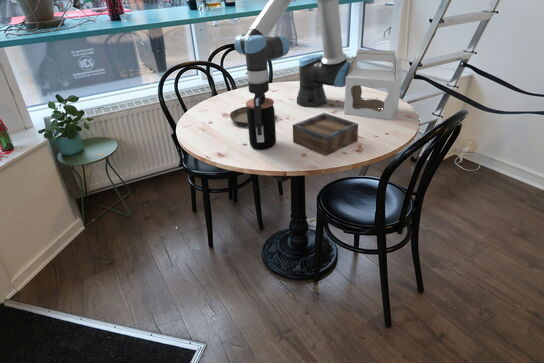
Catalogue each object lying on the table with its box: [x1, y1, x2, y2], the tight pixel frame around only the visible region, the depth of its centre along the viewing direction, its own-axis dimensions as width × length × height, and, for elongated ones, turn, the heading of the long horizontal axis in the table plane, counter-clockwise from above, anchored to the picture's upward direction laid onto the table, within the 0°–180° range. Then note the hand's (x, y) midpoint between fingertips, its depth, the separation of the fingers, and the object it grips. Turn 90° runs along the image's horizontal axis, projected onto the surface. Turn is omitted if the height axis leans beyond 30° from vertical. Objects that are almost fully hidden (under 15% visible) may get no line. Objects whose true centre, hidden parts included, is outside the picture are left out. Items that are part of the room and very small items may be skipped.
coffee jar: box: [245, 97, 277, 151], centre depth 147 cm, size 11×11×18 cm
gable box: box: [343, 49, 403, 121], centre depth 168 cm, size 22×13×28 cm, turn 62°
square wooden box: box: [292, 112, 359, 157], centre depth 148 cm, size 18×18×8 cm
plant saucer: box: [229, 106, 248, 127], centre depth 176 cm, size 21×21×3 cm
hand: (262, 135), depth 149 cm, fingers closed on coffee jar, 11 cm apart
